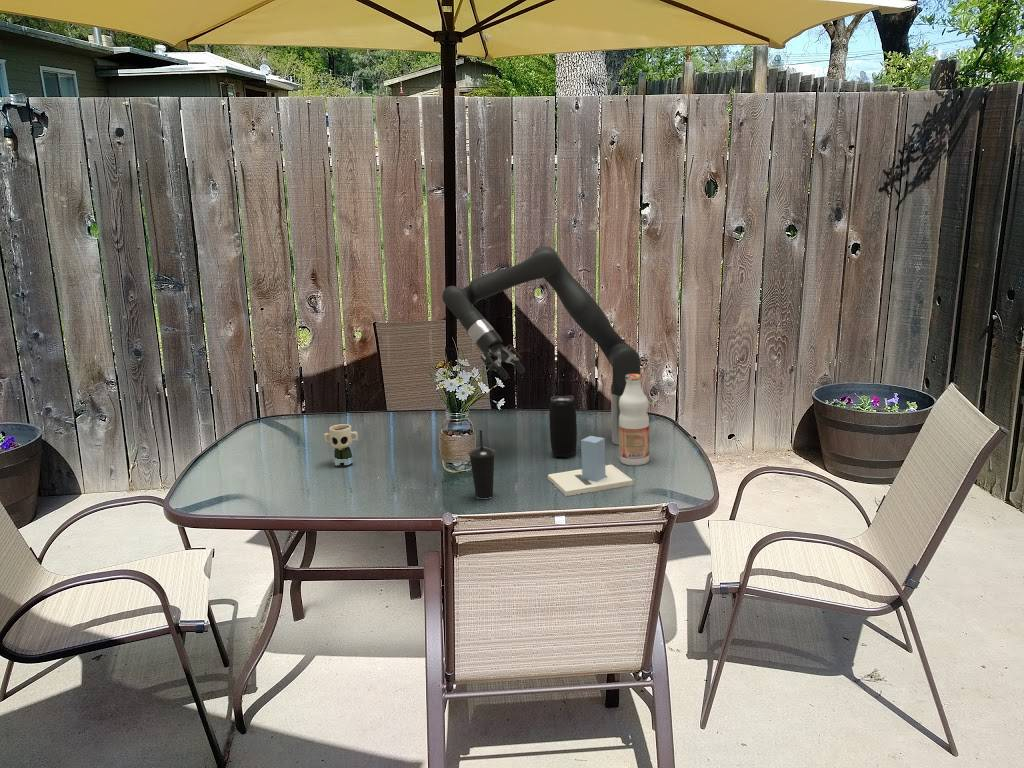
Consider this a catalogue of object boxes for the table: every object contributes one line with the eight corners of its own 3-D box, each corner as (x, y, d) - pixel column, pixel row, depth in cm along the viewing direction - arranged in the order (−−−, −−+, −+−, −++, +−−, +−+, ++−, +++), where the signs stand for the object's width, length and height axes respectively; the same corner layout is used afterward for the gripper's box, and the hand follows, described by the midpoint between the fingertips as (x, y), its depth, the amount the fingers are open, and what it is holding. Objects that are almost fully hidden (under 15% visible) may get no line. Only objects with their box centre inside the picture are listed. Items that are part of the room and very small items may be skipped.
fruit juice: (613, 460, 259) (611, 375, 252) (635, 454, 264) (634, 370, 257) (633, 468, 252) (631, 380, 245) (655, 461, 257) (655, 375, 250)
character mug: (325, 469, 265) (320, 431, 261) (329, 462, 272) (325, 424, 268) (358, 467, 265) (354, 429, 261) (362, 460, 271) (358, 423, 268)
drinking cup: (474, 503, 230) (470, 436, 225) (468, 494, 237) (464, 428, 233) (500, 499, 232) (497, 432, 227) (494, 490, 239) (490, 425, 234)
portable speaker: (578, 450, 270) (576, 393, 266) (575, 460, 262) (574, 401, 257) (552, 450, 272) (550, 393, 267) (549, 459, 263) (547, 401, 258)
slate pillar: (591, 473, 244) (590, 435, 242) (605, 476, 241) (604, 438, 239) (582, 478, 241) (581, 440, 238) (596, 482, 238) (595, 442, 235)
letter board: (611, 468, 252) (611, 464, 252) (632, 485, 238) (632, 480, 238) (547, 479, 246) (547, 474, 246) (566, 496, 232) (565, 491, 232)
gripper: (476, 332, 253) (507, 372, 249) (504, 325, 264) (534, 363, 259) (464, 348, 257) (494, 387, 253) (492, 340, 268) (522, 377, 264)
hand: (515, 375), depth 256 cm, fingers open, 8 cm apart
